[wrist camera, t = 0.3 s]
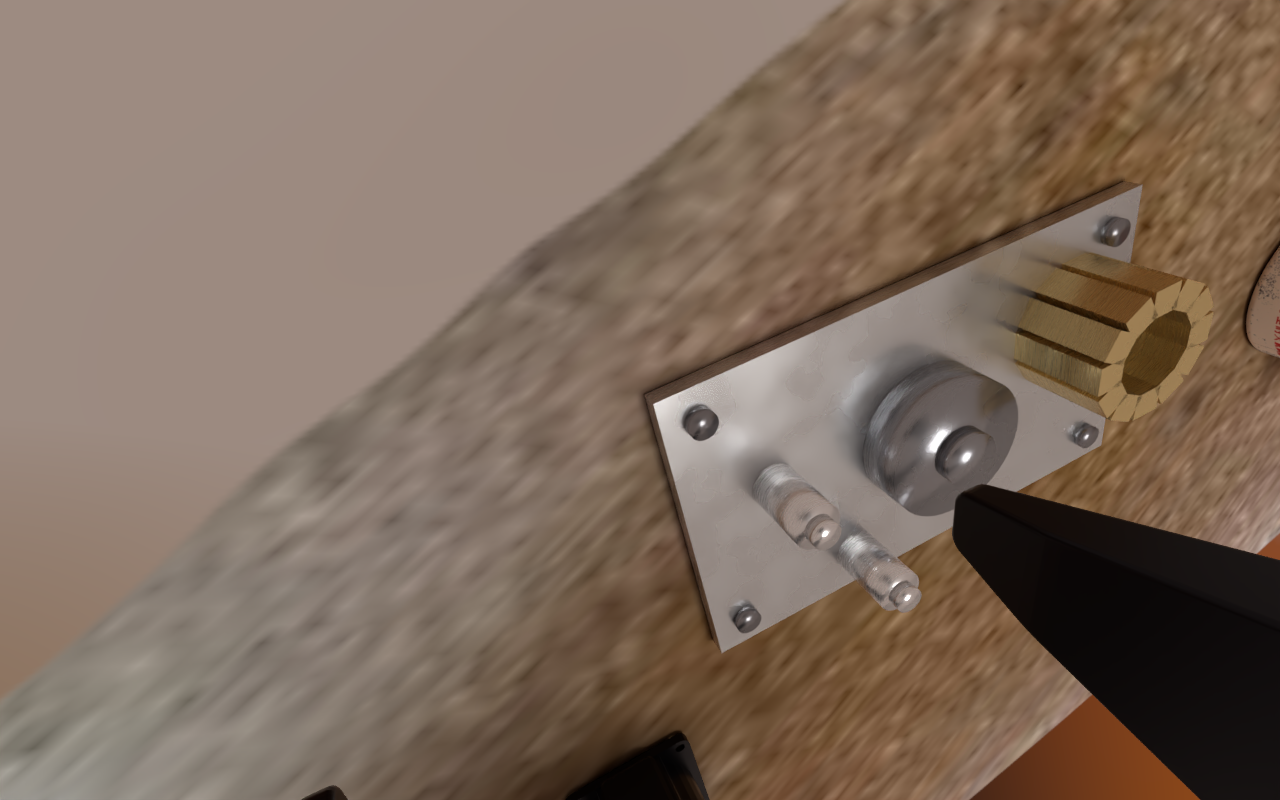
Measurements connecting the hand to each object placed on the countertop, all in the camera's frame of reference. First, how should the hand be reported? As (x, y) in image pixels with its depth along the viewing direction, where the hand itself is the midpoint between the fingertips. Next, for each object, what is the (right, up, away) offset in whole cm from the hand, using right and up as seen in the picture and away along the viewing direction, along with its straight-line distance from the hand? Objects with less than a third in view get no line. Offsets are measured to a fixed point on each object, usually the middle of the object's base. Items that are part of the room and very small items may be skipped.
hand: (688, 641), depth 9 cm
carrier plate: (+11, +2, +22) cm, 25 cm away
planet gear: (+18, +7, +22) cm, 29 cm away
